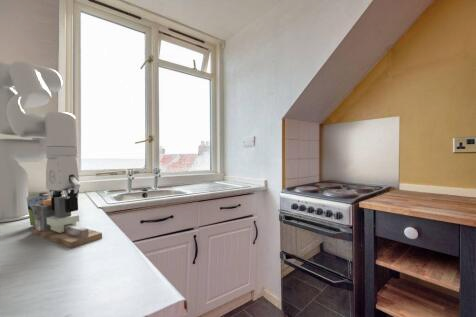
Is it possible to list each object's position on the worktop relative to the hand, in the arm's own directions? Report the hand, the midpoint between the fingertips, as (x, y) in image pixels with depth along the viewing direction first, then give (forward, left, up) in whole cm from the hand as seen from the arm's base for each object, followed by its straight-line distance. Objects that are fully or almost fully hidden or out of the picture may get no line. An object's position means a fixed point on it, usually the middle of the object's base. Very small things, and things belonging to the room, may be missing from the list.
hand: (64, 210), depth 68 cm
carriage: (-1, 0, -6) cm, 6 cm away
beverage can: (-20, +1, -8) cm, 21 cm away
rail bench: (0, 0, -8) cm, 8 cm away
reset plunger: (-9, 0, 0) cm, 9 cm away
